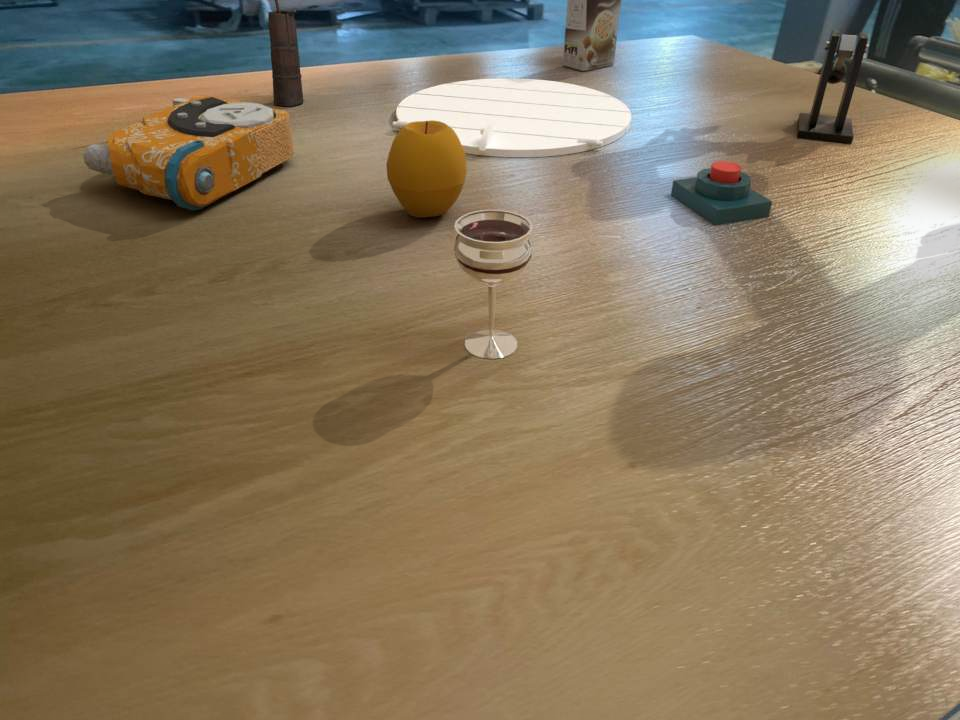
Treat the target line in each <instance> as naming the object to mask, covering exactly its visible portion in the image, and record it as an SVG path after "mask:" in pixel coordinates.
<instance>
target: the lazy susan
mask: <svg viewBox="0 0 960 720" xmlns="http://www.w3.org/2000/svg"><path fill="white" fill-rule="evenodd" d="M395 117H396V121H393V122H392V127H393V128H398V129H400V130H401V129H402V128H403V127H404V126H406V125H407V124H409V123H411V122H417V121H431V120H433V121H440V122H442V123H445V124H446V125H448V126H449V127H451V128H452V129H453V130H454V132H455V133H456V135H457V136H458V138H459V140H460V143H461V145H462V147H463V149H464V151H465V154H467V155H475V156H483V157H484V156H485V157H497V158H545V157H547V158H548V157H557V156H565V155H572V154H577V153H582V152H583V153H584V152H588V151H591V150H595V149H599V148H603V147H604V146H608V145H609V144H612V143H614V142H616V141H618V140H620V139H621V138H622V137H623V136H624V135H625V134H627V133H628V131H629V130H630V128H631V124H632V112H631V110H630V108H629V107H628V106H627V105H626V104H625V103H624V102H623V101H621V100H620V99H618V98H616V97H614V96H612V95H610V94H608V93H605V92H603V91H600V90H597V89H594V88H590V87H586V86H583V85H579V84H573V83H568V82H562V81H554V80H545V79H535V78H516V77H515V78H509V77H507V78H502V77H501V78H499V77H498V78H481V79H480V78H479V79H478V78H477V79H469V80H461V81H453V82H449V83H442V84H438V85H434V86H430V87H427V88H424V89H421V90H419V91H416V92H414V93H412V94H409V95H408V96H407V97H405V98H403V99H402V100H401V101H400V103H399V104H398V105H397V107H396V110H395Z"/></svg>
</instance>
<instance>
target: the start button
mask: <svg viewBox="0 0 960 720" xmlns="http://www.w3.org/2000/svg"><path fill="white" fill-rule="evenodd" d="M710 168H711V170H710V175H709V179H711V180H712V181H716V182H719V183H729V184H731V183H737V182H738V181H739V176H740V172H742V166H741V165H740V164H738V163H737V162H732V161H726V160H721V161H719V160H718V161H713V162H712V163H711V165H710Z"/></svg>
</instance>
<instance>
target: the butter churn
mask: <svg viewBox="0 0 960 720" xmlns="http://www.w3.org/2000/svg"><path fill="white" fill-rule="evenodd" d="M274 4H275V8H276V10H272V11H268V12H267V14H268V34H269V41H270V46H269V49H270V61H271V75H272V76H271V77H272V95H273V104H274V105H277V106H284V107H291V106H298V105H302V104H303V103H304V101H305V100H304V93H303V83H302V77H303V75H302V73H301V66H300V65H301V64H300V62H301V61H300V53H299V52H300V51H299V43H298V33H297V31H298V30H297V26H296V20H295V15H296V14H297V10H295V9H294V10H291V11H290V10H286V9H285V10H284V9H281V8H280V7H281V6H280V3H279V0H274Z"/></svg>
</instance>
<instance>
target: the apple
mask: <svg viewBox="0 0 960 720" xmlns="http://www.w3.org/2000/svg"><path fill="white" fill-rule="evenodd" d="M389 149H390V150H389V153H388V155H387V159H386V174H387V175H386V176H387V177H386V178H387V180H388V182H389V185H390V187H391V190H392V192H393V194H394V196H395V197H396V199H397V200H398V202H399V203H400V205H401V206H402V208H403V209H404V210H405V212H407V213H408V214H409V215H411V216H413V217H415V218H433V217H439V216H442V215H444V214H445V213H446V212H448V211H449V210H450V209H451V208H452V207H453V206H454V204H455V203H456V201H457V200H458V199H459V197H460V195H461V193H462V191H463V189H464V188H463V187H464V185H465V181H466V177H467V174H468V168H467V167H468V166H467V156H466V153H465V151H464V149H463V147H462V145H461V143H460V140H459V138H458V136H457V135H456V133H455V132H454V130H453V129H452V128H451V127H449V126H448V125H446V124H445V123H442V122H440V121H433V120H431V121H417V122H411V123H409V124H407V125H406V126H404V127H403V128H402V129H401V128H400V130H398V132H397V134H396V136H395V137H394V139H393V140H392V143H391V145H390V148H389Z"/></svg>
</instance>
